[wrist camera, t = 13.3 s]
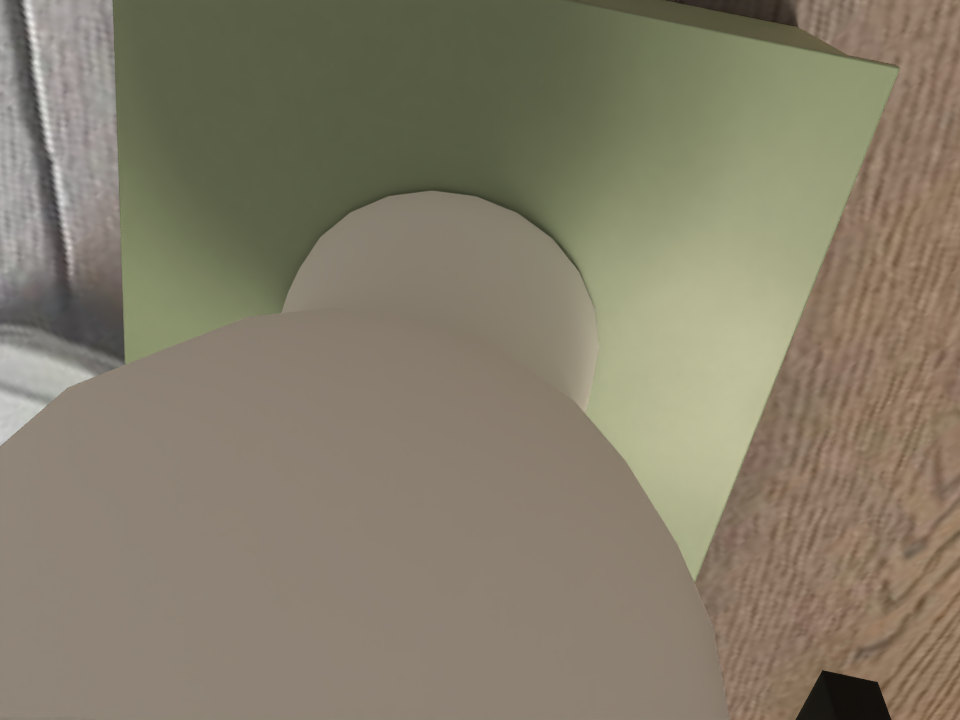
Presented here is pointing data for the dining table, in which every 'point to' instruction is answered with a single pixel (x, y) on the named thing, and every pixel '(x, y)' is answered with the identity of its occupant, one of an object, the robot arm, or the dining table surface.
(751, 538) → the dining table surface
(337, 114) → the green flat-topped block
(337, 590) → the cup
